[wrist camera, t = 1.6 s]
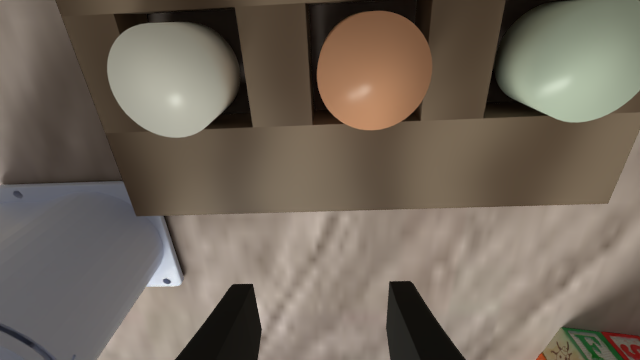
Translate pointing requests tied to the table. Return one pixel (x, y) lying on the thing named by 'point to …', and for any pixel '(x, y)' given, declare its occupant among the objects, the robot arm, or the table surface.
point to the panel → (342, 140)
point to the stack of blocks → (591, 346)
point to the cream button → (173, 76)
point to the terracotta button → (374, 69)
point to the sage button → (572, 58)
